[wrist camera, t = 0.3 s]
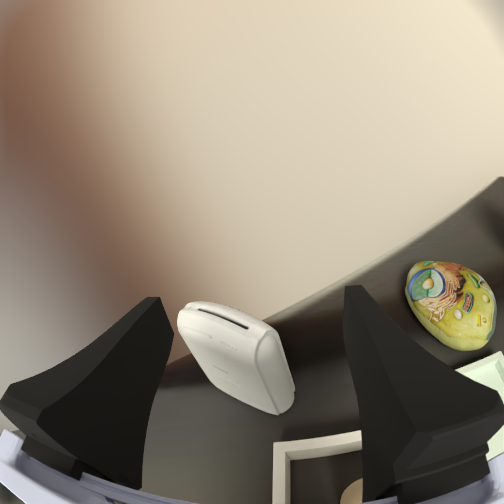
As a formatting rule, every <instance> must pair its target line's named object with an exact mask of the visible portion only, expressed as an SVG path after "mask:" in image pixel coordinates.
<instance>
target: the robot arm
mask: <svg viewBox="0 0 504 504" xmlns="http://www.w3.org/2000/svg"><path fill="white" fill-rule="evenodd" d="M342 328H343V335H344V342H345V350H346V354H347V358H348V362H349V366H350V370H351V374H352V378H353V382H354V386H355V391H356V395H357V400H358V406H359V414H360V425H361V438H362V460H363V491H362V503H359V504H504V452H502V453H500V454H498V455H497V456H495V457H493V458H491V459H490V460H488V461H487V458H486V454H487V453H488V452H489V446H488V443H487V442H488V441H489V440H490V439H491V438H492V437H493V436H494V435H495V434H496V433H497V432H498V431H499V430H500V429H501V428H502V426H503V425H504V403H503V401H502V398H501V396H500V394H499V393H498V391H497V390H495V389H492V388H490V387H488V386H485V385H483V384H481V383H479V382H476V381H474V380H472V379H470V378H468V377H467V376H465V375H463V374H461V373H459V372H458V371H456V370H454V369H453V368H451V367H449V366H448V365H446V364H445V363H443V362H442V361H440V360H439V359H437V358H436V357H434V356H433V355H432V354H430V353H429V352H427V351H426V350H425V349H424V348H423V347H421V346H420V345H419V344H418V343H416V342H415V341H414V340H413V339H412V338H411V337H409V336H408V335H407V334H406V333H405V332H404V331H403V330H402V329H401V328H400V327H399V326H398V325H397V324H396V323H395V322H394V321H393V320H392V319H391V318H390V317H389V316H388V315H387V314H386V313H385V312H384V310H383V309H382V308H381V307H380V306H379V305H378V304H377V303H376V301H375V300H374V299H373V298H372V297H371V296H370V294H369V293H368V292H367V291H366V290H365V289H364V287H363V286H362V285H355V286H345V297H344V312H343V326H342ZM173 337H174V332H173V330H172V327H171V325H170V322H169V320H168V317H167V315H166V312H165V310H164V307H163V305H162V302H161V299H160V297H147V298H145V299H144V300H143V301H141V302H140V303H139V304H138V305H136V306H135V307H134V308H133V309H131V310H130V311H129V312H128V313H127V314H126V315H125V316H123V317H122V318H121V319H120V320H119V321H118V322H116V323H115V324H114V325H113V326H112V327H111V328H109V329H108V330H107V331H106V332H104V333H103V334H102V335H101V336H99V337H98V338H97V339H96V340H95V341H93V342H92V343H91V344H89V345H88V346H87V347H85V348H84V349H82V350H81V351H79V352H78V353H76V354H75V355H73V356H72V357H70V358H69V359H67V360H65V361H63V362H61V363H60V364H58V365H56V366H54V367H53V368H51V369H48V370H46V371H44V372H42V373H40V374H38V375H35V376H33V377H30V378H28V379H25V380H22V381H19V382H16V383H13V384H11V385H10V386H9V387H8V389H7V390H6V392H5V393H4V395H3V397H2V398H1V400H0V410H1V412H2V413H3V414H4V415H5V416H6V417H7V418H8V419H9V420H10V421H11V422H12V423H13V424H14V425H15V426H16V427H17V428H19V429H20V430H21V431H22V432H23V433H24V434H25V435H26V438H25V440H23V439H22V438H20V437H19V436H17V435H16V434H14V433H12V432H11V431H9V430H7V429H4V431H3V433H2V435H1V437H0V482H1V483H2V484H3V485H5V486H6V487H7V488H8V489H9V490H10V491H12V492H13V493H14V494H15V495H16V496H17V497H19V498H20V499H21V500H22V501H23V502H25V503H26V504H115V503H114V501H115V502H118V503H121V504H198V503H192V502H186V501H181V500H175V499H171V498H166V497H162V496H157V495H153V494H149V493H145V492H141V491H138V490H139V489H140V488H142V464H143V453H144V444H145V438H146V431H147V425H148V420H149V416H150V411H151V407H152V403H153V400H154V397H155V394H156V391H157V388H158V386H159V383H160V380H161V377H162V375H163V372H164V369H165V366H166V364H167V361H168V358H169V355H170V351H171V346H172V342H173Z"/></svg>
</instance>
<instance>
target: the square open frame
mask: <svg viewBox="0 0 504 504" xmlns="http://www.w3.org/2000/svg"><path fill="white" fill-rule="evenodd" d="M358 450H362V438H361V430H359V431H354V432H349V433H344V434H338V435H332V436H326V437H320V438H313V439H305V440H296V441H287V442H275V443H274V444H273V498H272V504H290V460H300V459H309V458H317V457H324V456H331V455H337V454H342V453H348V452H353V451H358Z"/></svg>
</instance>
